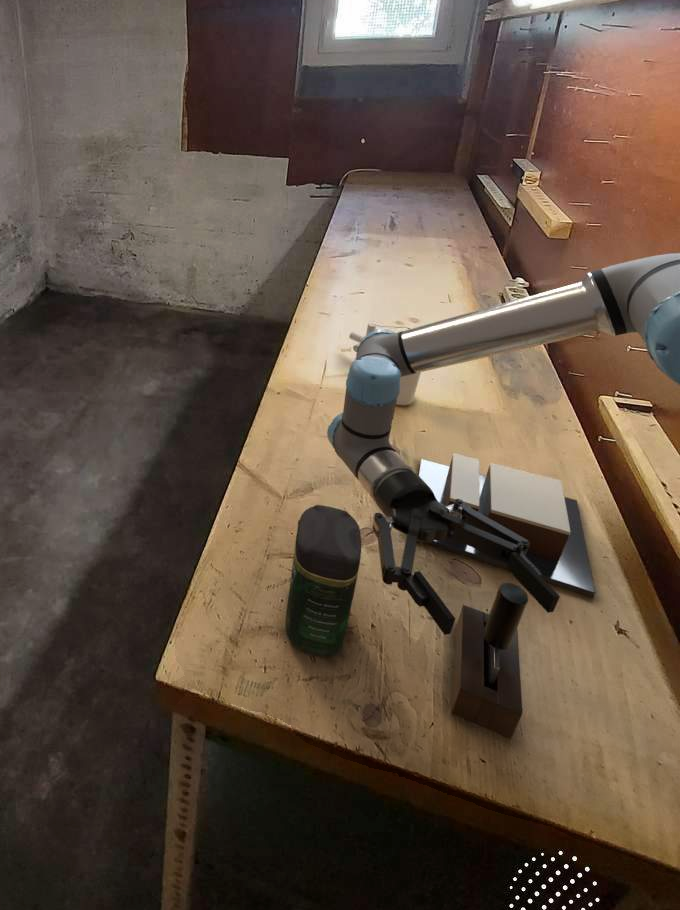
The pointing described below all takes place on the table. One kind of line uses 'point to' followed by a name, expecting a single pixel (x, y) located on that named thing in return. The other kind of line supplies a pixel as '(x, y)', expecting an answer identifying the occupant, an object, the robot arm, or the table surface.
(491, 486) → the cake
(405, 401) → the white cup
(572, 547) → the cake board
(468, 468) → the cake slice
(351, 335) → the pipe connector
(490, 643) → the knife
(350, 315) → the table surface
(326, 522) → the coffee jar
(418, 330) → the robot arm
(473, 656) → the knife block
